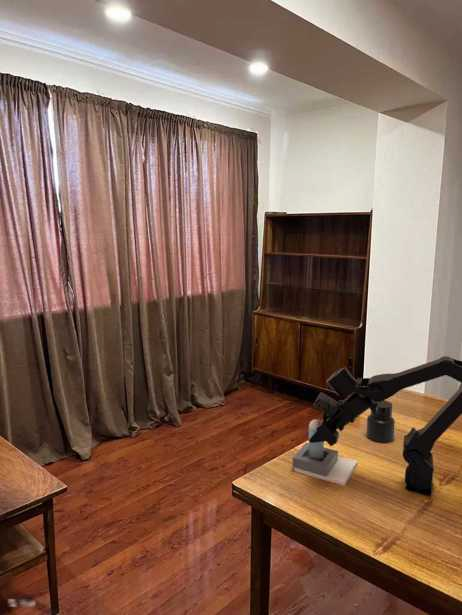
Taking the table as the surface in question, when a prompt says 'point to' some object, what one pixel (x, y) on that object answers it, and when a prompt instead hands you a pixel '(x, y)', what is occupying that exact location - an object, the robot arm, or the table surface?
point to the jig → (324, 465)
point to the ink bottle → (381, 423)
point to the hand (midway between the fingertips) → (311, 437)
